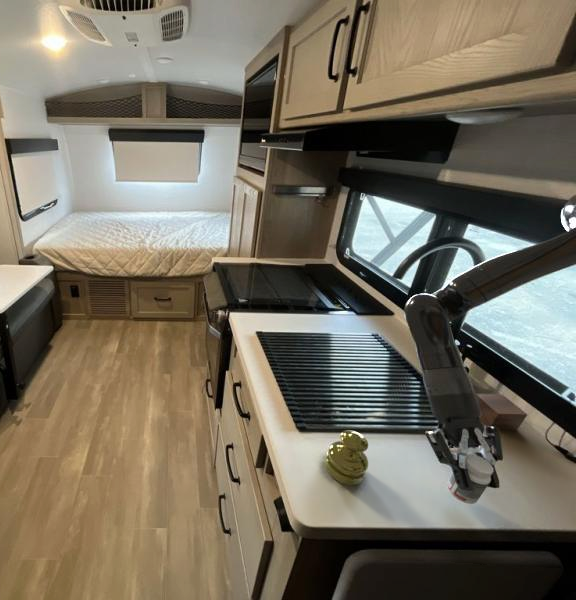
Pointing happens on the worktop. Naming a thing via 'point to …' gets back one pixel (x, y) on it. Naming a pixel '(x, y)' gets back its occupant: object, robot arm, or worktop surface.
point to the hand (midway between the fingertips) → (479, 488)
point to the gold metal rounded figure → (348, 458)
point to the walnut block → (499, 411)
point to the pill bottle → (472, 479)
